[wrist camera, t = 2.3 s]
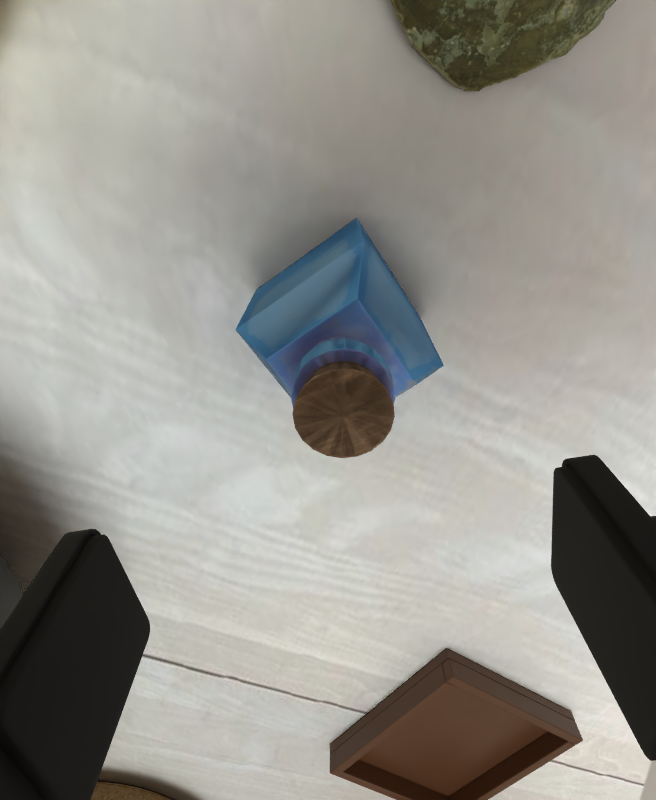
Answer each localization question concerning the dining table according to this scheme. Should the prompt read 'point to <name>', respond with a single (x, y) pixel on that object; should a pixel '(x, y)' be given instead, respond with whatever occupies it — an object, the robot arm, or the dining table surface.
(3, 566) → the ball
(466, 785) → the tray
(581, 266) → the dining table surface
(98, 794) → the planter
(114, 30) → the dining table surface
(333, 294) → the perfume bottle
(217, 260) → the dining table surface
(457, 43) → the olive green rounded lump
